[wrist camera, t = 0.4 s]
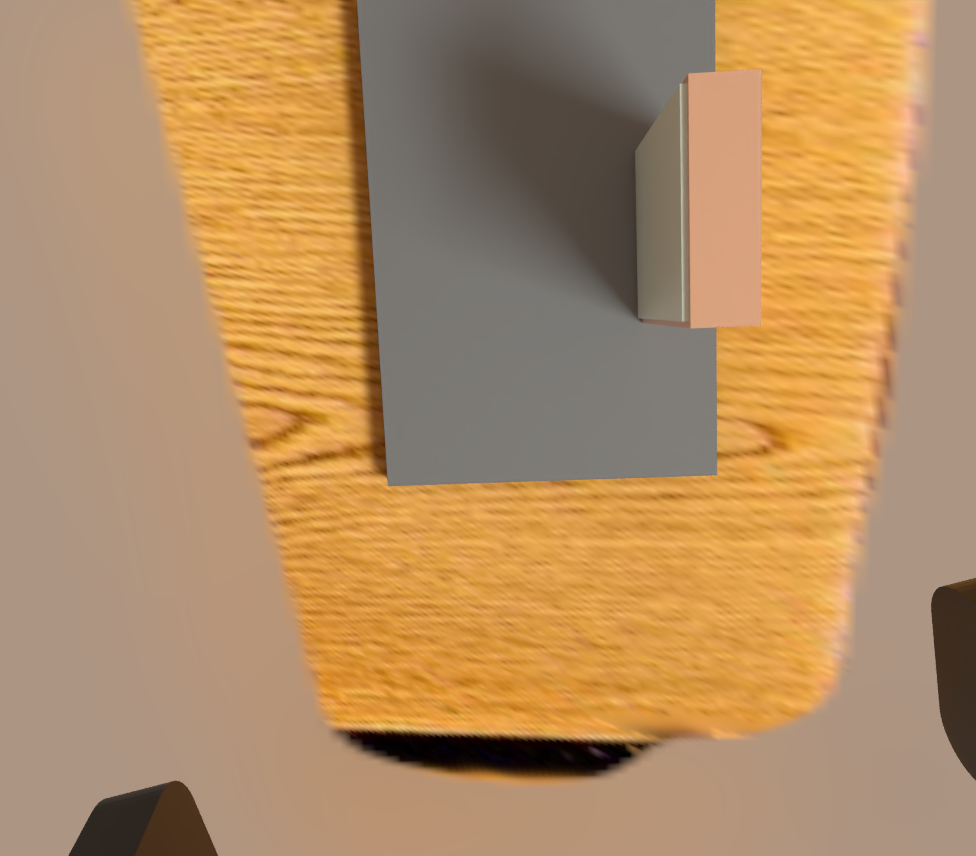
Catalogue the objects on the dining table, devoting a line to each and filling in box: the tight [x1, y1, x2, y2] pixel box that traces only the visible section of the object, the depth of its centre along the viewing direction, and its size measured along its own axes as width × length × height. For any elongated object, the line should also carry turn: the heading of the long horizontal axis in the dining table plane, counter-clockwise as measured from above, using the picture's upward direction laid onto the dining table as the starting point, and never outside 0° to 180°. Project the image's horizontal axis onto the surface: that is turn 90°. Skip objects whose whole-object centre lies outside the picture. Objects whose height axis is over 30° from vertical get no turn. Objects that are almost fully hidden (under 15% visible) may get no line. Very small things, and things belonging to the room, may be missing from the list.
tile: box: [635, 69, 762, 329], centre depth 28 cm, size 7×2×10 cm, turn 3°
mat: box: [357, 0, 717, 486], centre depth 33 cm, size 20×14×1 cm
